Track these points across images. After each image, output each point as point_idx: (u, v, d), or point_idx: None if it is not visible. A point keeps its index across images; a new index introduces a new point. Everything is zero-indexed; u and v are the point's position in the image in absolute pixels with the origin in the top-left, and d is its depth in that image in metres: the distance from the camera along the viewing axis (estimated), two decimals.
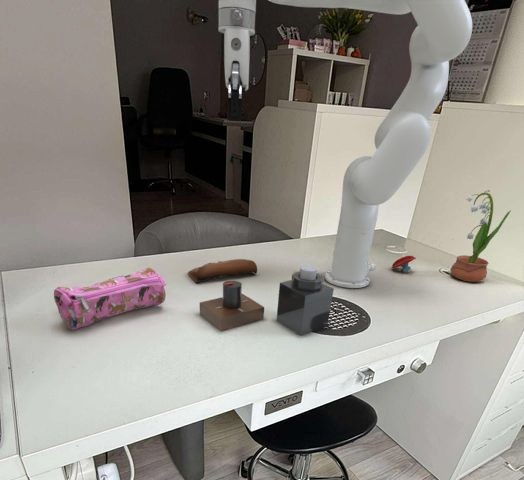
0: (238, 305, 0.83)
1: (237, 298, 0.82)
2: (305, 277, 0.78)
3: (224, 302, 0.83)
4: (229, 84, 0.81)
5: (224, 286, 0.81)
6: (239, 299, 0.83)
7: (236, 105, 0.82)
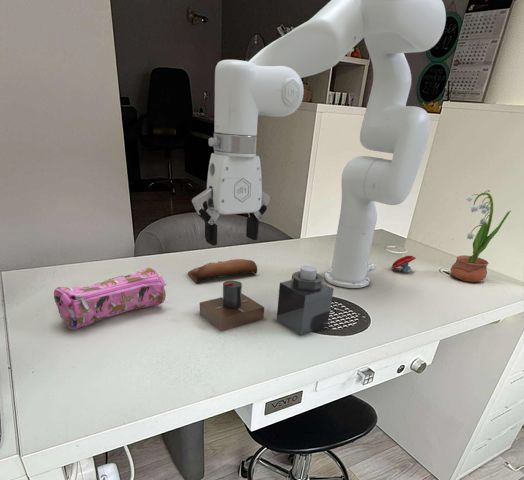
0: (238, 305, 0.83)
1: (237, 298, 0.82)
2: (305, 277, 0.78)
3: (224, 302, 0.83)
4: (208, 207, 0.74)
5: (224, 286, 0.81)
6: (239, 299, 0.83)
7: (208, 229, 0.74)
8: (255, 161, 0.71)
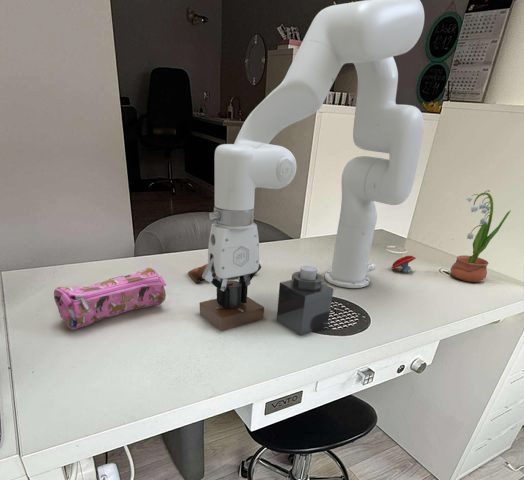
0: (238, 305, 0.83)
1: (237, 298, 0.82)
2: (305, 277, 0.78)
3: None
4: (216, 275, 0.80)
5: None
6: (239, 299, 0.83)
7: (219, 295, 0.81)
8: (252, 230, 0.76)
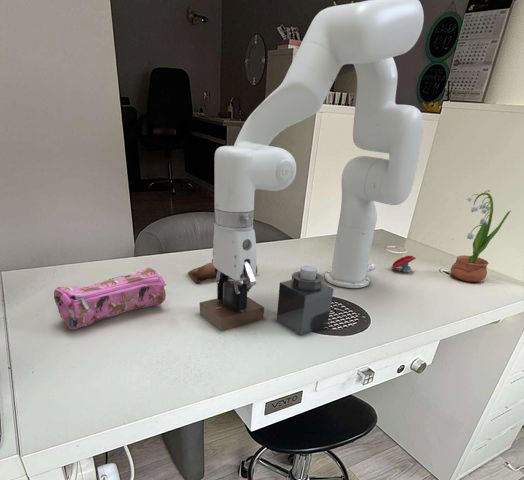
0: None
1: None
2: (305, 277, 0.78)
3: None
4: (237, 281, 0.78)
5: None
6: None
7: (244, 298, 0.81)
8: None
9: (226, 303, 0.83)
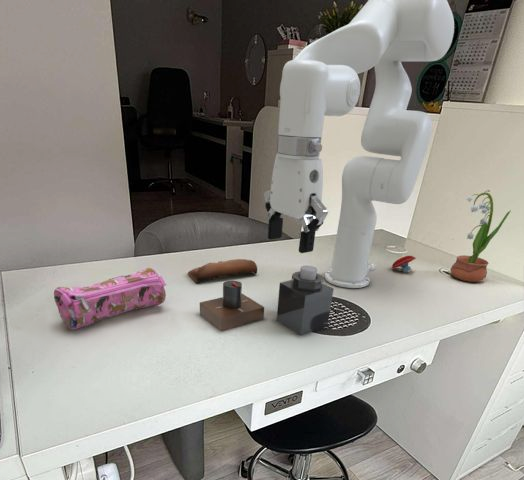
0: None
1: None
2: (305, 277, 0.78)
3: (237, 303, 0.83)
4: (304, 217, 0.70)
5: (237, 288, 0.81)
6: None
7: (312, 238, 0.72)
8: None
9: (226, 303, 0.83)
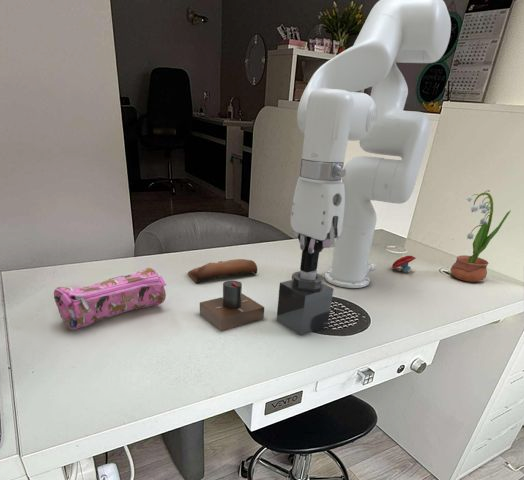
0: None
1: None
2: (305, 279, 0.79)
3: (237, 303, 0.83)
4: (315, 241, 0.74)
5: (237, 288, 0.81)
6: None
7: (316, 258, 0.77)
8: None
9: (226, 303, 0.83)
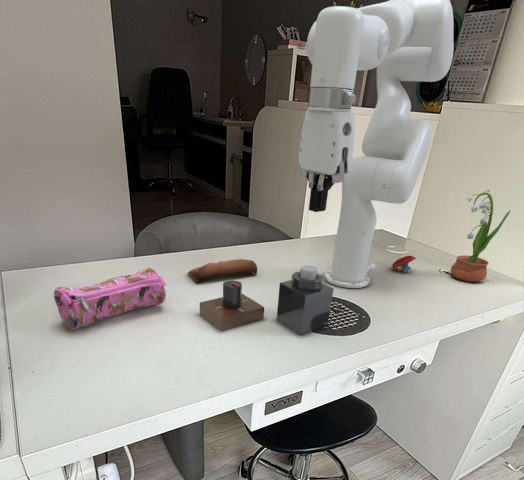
0: None
1: None
2: (305, 277, 0.78)
3: (237, 303, 0.83)
4: (324, 177, 0.72)
5: (237, 288, 0.81)
6: None
7: (325, 196, 0.75)
8: None
9: (226, 303, 0.83)
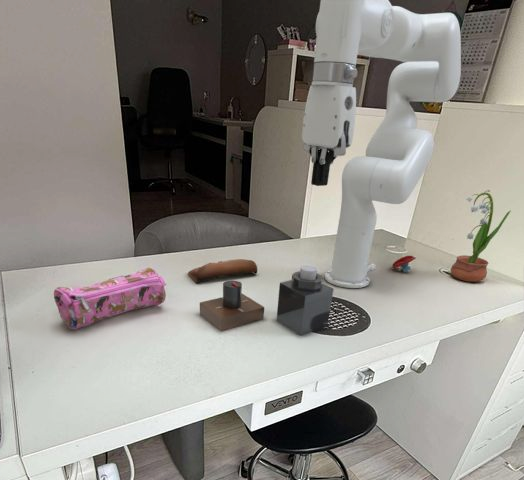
0: None
1: None
2: (305, 277, 0.78)
3: (237, 303, 0.83)
4: (326, 151, 0.75)
5: (237, 288, 0.81)
6: None
7: (327, 171, 0.78)
8: None
9: (226, 303, 0.83)
